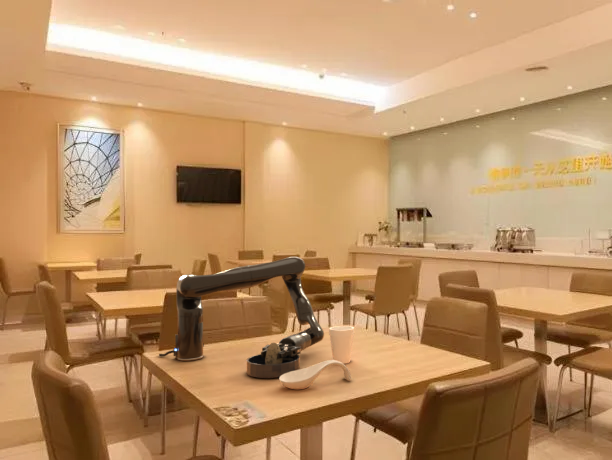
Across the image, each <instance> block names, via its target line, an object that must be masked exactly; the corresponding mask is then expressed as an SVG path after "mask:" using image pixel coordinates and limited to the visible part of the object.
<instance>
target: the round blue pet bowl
mask: <svg viewBox="0 0 612 460" xmlns="http://www.w3.org/2000/svg"><path fill="white" fill-rule="evenodd" d="M300 369H301V357H300V354H298V355H295V356H292V357H289V355H288V356H287V357H283V358H282V364H269V365H266V364H265V357H264V358H262V357H261V353H260V354H259V353H258V354H255V355H252V356H250V357H248V358H247V359H246V375H248V376H249V377H254V378H257V379H279V377H280V376H281V375H283V374H285V373H288V372H291V371H295V370H300Z"/></svg>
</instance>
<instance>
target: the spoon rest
mask: <svg viewBox="0 0 612 460" xmlns="http://www.w3.org/2000/svg"><path fill="white" fill-rule="evenodd" d="M330 366H338V367H340V368H341V369H342V370H343V377H344V380H347V381H351V380H352V375H351V372H350V370H349V367H348V366H346V364H343V363H341V362H339V361H336V360H333V359H327V360H323V361H321V362H318V363H315V364H313V365H309V366H307V367H303V368H300V369H299V370H295V371H291V372H288V373H285V374H283V375H281V376H280V377H279V378H278V380H279V382H280V383H281V384H282V386H284V387H286V388H287V389H291V390H304V389H307V388H309V387H310V385H312V384H313V383H314V381H315V380H316V379H318V377H319V376H320V374H321V373H323V371H324V370H325V369H327V368H328V367H330Z"/></svg>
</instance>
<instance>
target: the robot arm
mask: <svg viewBox="0 0 612 460" xmlns="http://www.w3.org/2000/svg"><path fill="white" fill-rule="evenodd" d="M305 270H306V262H305V260H304V259H302V258H301V257H299V256H289V257H286V258H281V259H277V260H274V261H269V262H262V263H257V264H251V265H248V264H247V265H241V266H236V267H232V268H229V269H227V270H224V271H220V272H217V273H213V274H212V273H211V274H200V275H197V274H193V273H186V274H183V275H182V276H180V277H179V278H178V280H177V282H176V291H175V292H176V294H175V295H176V310H177V334H175V341H174V342H175V343H174V344H175V347H173V349H172V350H168V351H167V352H165V353H158V356H159V357H166V356H168V355H171V354H173V357H175V358H174V359H175V360H177V361H181V362H189V361H198V360H201V359H204V347H205V346H204V345H205V344H204V306H203V303H202V297H203V296H207V295H211V294H215V293H219V292H228V291H237V290H244V289H250V288H253V287H254V288H255V287H257V286H260V285H262V284H264V283H266V282H268V281H270V280H273V279H275V278H278V277H281V279H282V280H283V283H284V284H285V285H284V286H286V289H287V291H288V293H289V297H290V299H291V301H292V304H293V308H294V312H295V315H296V319H297V322H298V324H299V325H301V326H307V325H309V327H308V328H306V329H304V330H303V331H299V332H297V333H293V334H290V335H288V336H286V337H283V338H282V339H280V341H279V342H278V343H276V344H277V345H278V346H279V348H280V350H281V351H280V352H278V354H277V358H278V359H281V358H283V357H287V356H288V355H289V357H292V356H295V355H301V353H302V351H304V350H306V349H308V348H310V347H312V346H314V345H315V344H317V343H320V342H322V341H323V340H324V337H325V331H324V329H323V328H322V326H321V325H320V323H319V321H318V319H317V318H316V316H315V313H314V310H313V307H312V304H311V301H310V299H309V298H308V296H307V295H306V293H305V291H304V289H303V286H302V278H301V277H302V276H303V275H304V272H305ZM269 345H270V344H266V345H264V346H263V347H262V348H261V352H260V354H261V357H262V358H264V357H266V352H267V349H268V347H269Z"/></svg>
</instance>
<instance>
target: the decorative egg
mask: <svg viewBox="0 0 612 460" xmlns="http://www.w3.org/2000/svg"><path fill="white" fill-rule="evenodd" d="M277 344H278V343H276V342H271V343H270V344H268V345H269V347H268V349H267V352H266V357H265V364H266V365H269V364H282V358H281V359H278V358H277V354H278V352H280V351H281V350H280V348H279V346H278V345H277Z"/></svg>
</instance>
